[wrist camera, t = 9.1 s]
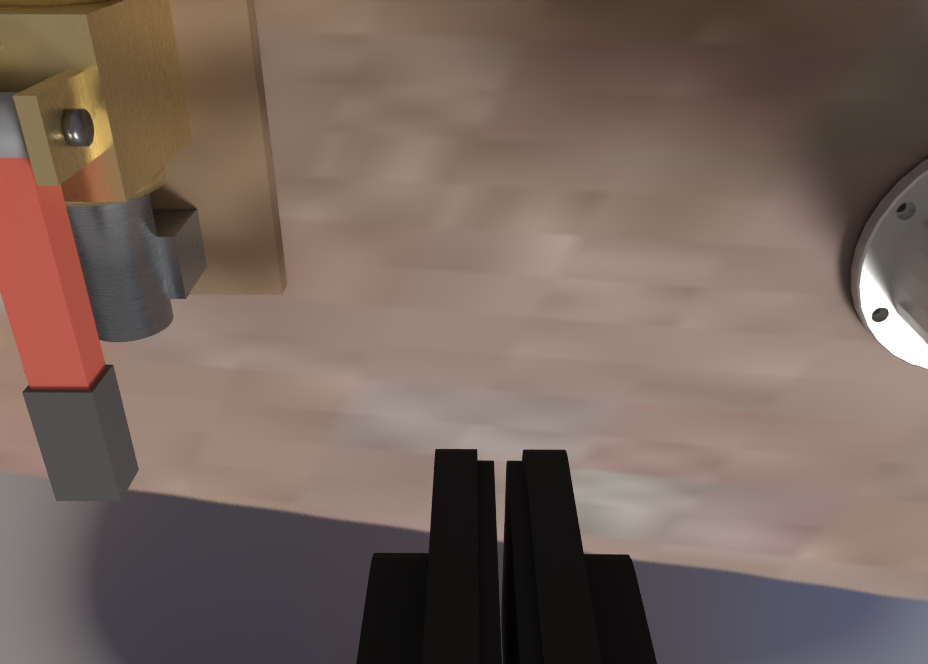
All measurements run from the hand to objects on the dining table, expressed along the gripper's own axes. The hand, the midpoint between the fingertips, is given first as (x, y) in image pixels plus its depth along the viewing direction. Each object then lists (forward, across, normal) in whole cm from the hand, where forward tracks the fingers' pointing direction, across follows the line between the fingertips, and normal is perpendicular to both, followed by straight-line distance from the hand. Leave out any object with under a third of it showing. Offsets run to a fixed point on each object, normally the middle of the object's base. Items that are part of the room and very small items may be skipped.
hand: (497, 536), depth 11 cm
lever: (+19, +16, +6) cm, 26 cm away
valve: (+28, +16, 0) cm, 32 cm away
